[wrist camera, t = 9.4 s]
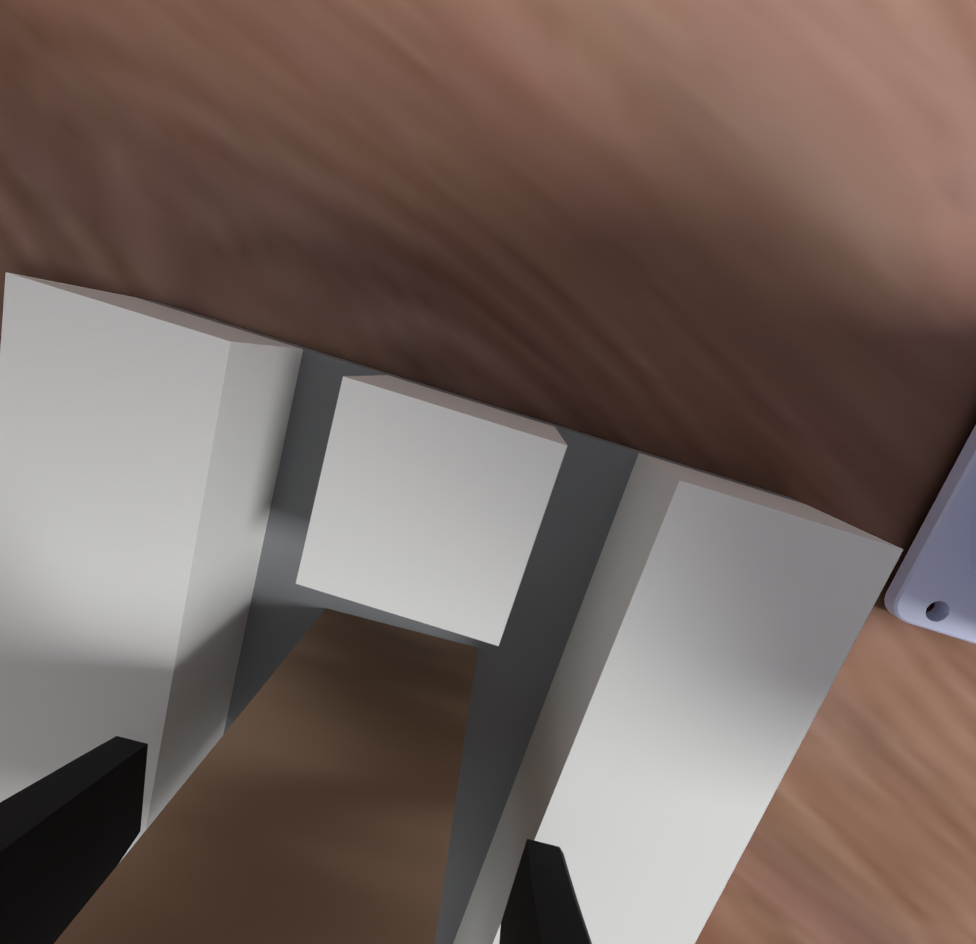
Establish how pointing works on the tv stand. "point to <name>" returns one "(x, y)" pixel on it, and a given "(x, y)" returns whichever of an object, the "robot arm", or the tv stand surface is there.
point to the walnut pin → (309, 805)
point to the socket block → (408, 593)
